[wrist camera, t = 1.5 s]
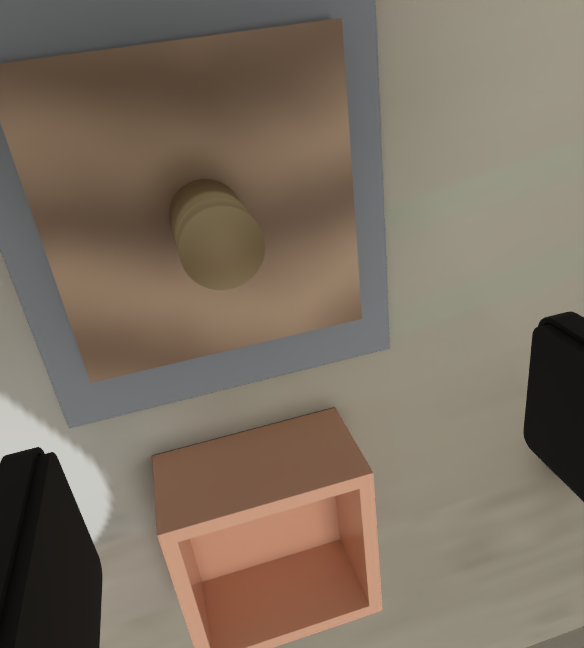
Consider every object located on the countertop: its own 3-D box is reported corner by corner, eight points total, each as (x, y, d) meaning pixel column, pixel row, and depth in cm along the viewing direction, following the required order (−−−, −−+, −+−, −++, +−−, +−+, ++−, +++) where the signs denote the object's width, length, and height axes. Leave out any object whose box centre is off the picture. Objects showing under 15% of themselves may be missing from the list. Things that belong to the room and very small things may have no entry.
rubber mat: (-99, -19, 20) (-104, -20, 20) (367, -68, 23) (372, -70, 23) (70, 422, 29) (69, 428, 29) (386, 344, 33) (389, 348, 32)
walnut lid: (-13, 65, 21) (-59, 69, 16) (332, 19, 24) (392, 10, 18) (91, 370, 28) (83, 447, 22) (354, 309, 30) (403, 365, 25)
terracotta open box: (152, 455, 32) (157, 535, 26) (334, 407, 34) (373, 473, 28) (191, 583, 37) (202, 671, 32) (347, 535, 39) (382, 610, 33)
